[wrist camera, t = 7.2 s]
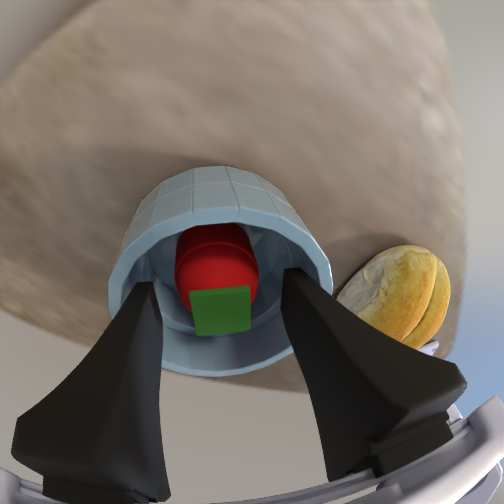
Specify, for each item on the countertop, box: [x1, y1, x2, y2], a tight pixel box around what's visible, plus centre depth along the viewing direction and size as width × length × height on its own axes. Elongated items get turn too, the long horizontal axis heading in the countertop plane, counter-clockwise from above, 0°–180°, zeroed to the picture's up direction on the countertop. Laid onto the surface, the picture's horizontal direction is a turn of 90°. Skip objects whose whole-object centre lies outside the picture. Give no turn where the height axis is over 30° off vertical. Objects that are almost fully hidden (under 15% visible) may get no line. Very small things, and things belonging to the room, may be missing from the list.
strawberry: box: [174, 222, 259, 336], centre depth 11 cm, size 3×3×4 cm
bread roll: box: [336, 245, 450, 350], centre depth 16 cm, size 8×9×4 cm
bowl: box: [108, 166, 333, 377], centre depth 12 cm, size 8×8×4 cm
